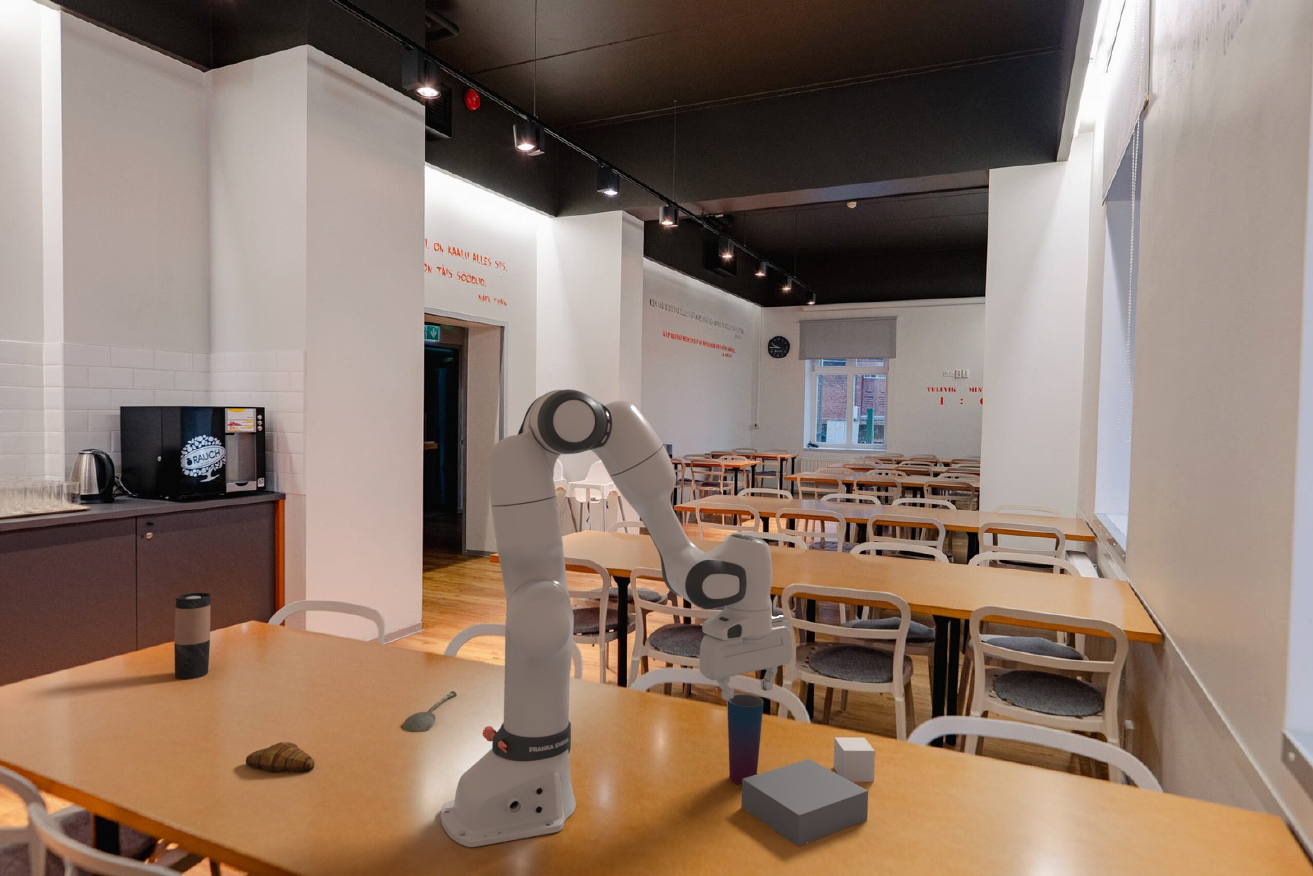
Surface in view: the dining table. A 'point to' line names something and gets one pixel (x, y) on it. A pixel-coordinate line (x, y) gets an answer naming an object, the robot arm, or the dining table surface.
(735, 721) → the cup
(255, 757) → the croissant
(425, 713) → the soupspoon
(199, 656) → the travel mug
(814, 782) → the plinth
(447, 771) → the dining table surface
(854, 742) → the white cube
